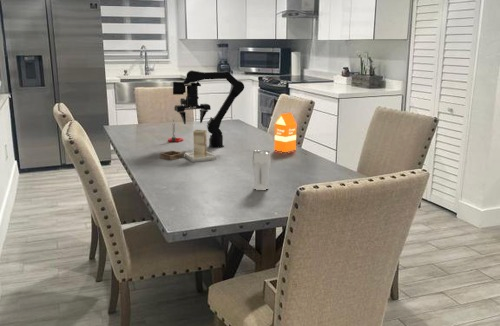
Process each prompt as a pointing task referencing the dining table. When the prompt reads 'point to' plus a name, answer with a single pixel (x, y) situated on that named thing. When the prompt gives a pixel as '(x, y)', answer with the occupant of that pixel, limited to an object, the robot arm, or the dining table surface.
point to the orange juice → (285, 133)
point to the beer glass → (261, 169)
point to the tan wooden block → (200, 143)
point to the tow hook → (174, 136)
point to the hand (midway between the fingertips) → (192, 123)
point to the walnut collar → (171, 155)
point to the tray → (193, 159)
